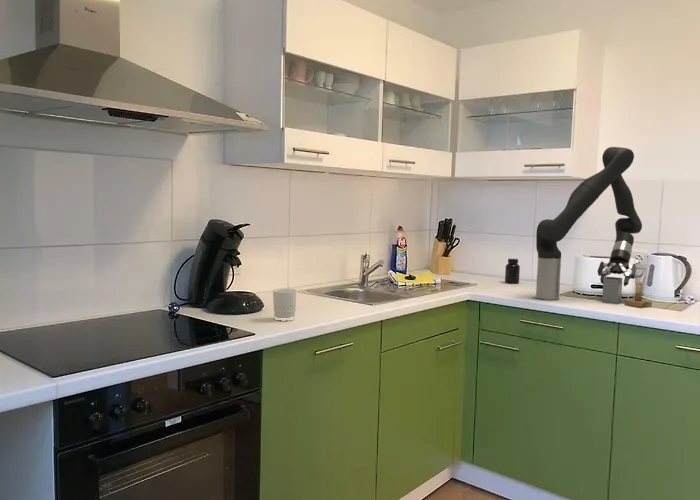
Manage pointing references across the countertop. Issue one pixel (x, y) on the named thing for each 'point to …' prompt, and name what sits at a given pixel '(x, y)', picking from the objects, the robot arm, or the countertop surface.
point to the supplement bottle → (512, 272)
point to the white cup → (284, 303)
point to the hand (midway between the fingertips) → (613, 283)
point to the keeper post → (638, 298)
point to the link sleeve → (612, 290)
